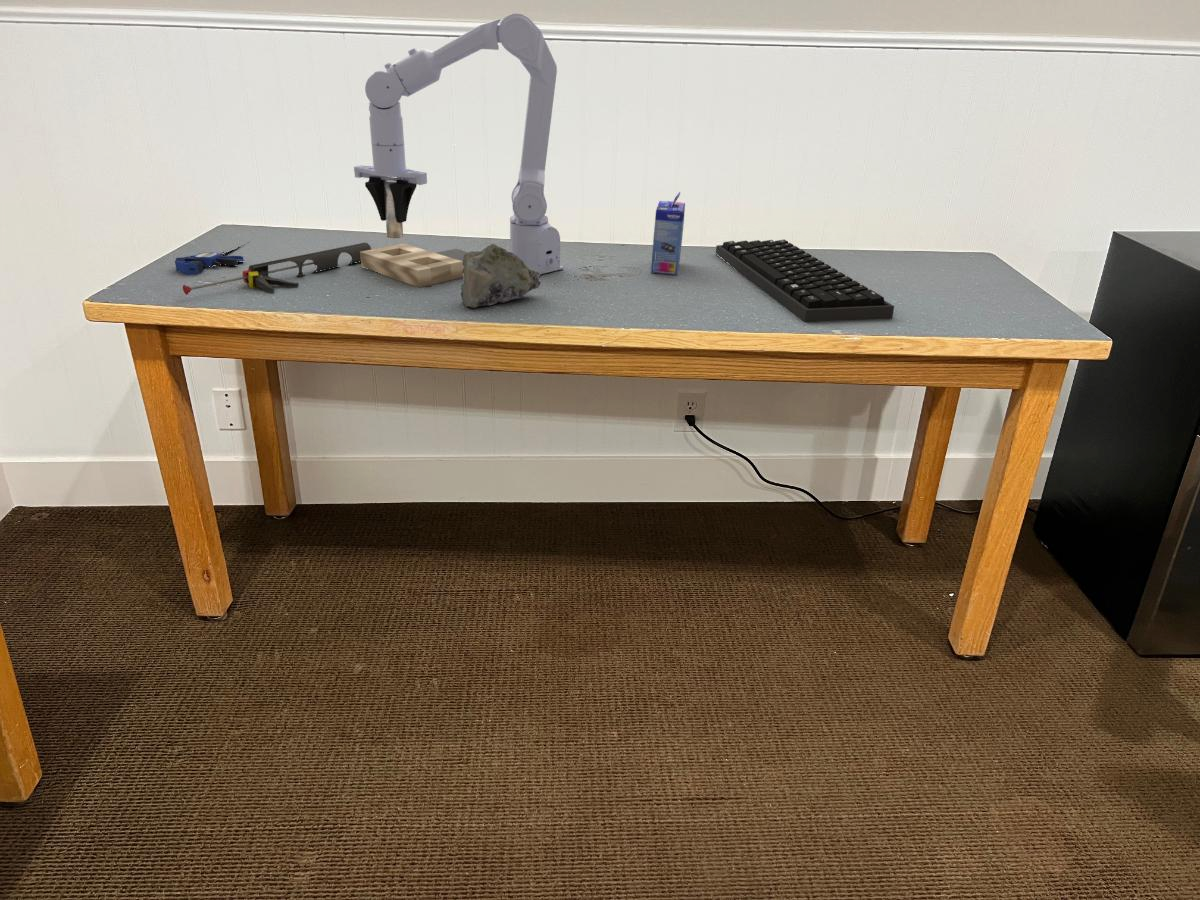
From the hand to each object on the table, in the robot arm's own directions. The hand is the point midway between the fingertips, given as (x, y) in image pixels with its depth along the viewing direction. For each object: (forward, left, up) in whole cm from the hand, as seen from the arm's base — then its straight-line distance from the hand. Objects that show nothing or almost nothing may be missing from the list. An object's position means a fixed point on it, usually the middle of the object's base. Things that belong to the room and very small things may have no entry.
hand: (393, 220), depth 161 cm
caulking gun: (+5, +19, -10) cm, 22 cm away
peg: (0, 0, -3) cm, 3 cm away
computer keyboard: (-58, -49, -10) cm, 76 cm away
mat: (-2, -12, -9) cm, 15 cm away
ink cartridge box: (-35, -39, -9) cm, 53 cm away
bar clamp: (+30, +18, -10) cm, 36 cm away
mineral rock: (-30, 0, -9) cm, 31 cm away
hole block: (-5, 0, -9) cm, 10 cm away
